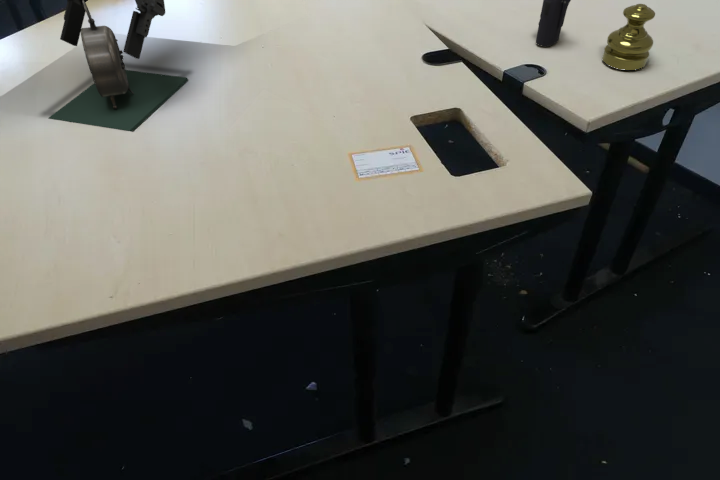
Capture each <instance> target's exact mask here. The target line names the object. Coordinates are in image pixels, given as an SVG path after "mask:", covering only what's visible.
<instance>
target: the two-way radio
mask: <svg viewBox="0 0 720 480" xmlns="http://www.w3.org/2000/svg"><path fill="white" fill-rule="evenodd" d="M571 1H572V0H543V1H542V6H541V12H540V16H539V22H538V26H537V33H536V39H535V44H536V43H537V44H539V45H542V46H541V47H543V46H546V47H551V46H553V45H556V43H558V42H559V39H560V36H561V35H560V34H561V31H562V27H564V23H565V18H566V15H567V11H568V7H569V4H570V2H571ZM557 41H558V42H557ZM537 44H536V45H537ZM539 45H538V46H539ZM550 45H551V46H550Z"/></svg>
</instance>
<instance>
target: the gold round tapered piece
mask: <svg viewBox="0 0 720 480" xmlns="http://www.w3.org/2000/svg"><path fill="white" fill-rule="evenodd" d="M622 15H623V17H625V19H626V24H625V25H622V27H619V28H618V29H616V30H614V31H612V32H610V33H609V34H608V36H607V38H606V45H605V47H604V49H603V50H604V51H603V54H602V57H601V60H602V59H603V60H602V62H603V61H604V62H605V63H606V64H608V65H610V66H612V67H615V68H618V69H625V70H635V69H639V68H641V69H643V68H644V67H646V64H647V62H648V60H649V59H648V58H649V56H650V52H649V51H651V49H652V48H653V45H654V39H653V37H652V35H650V34H649V32H648V31H647V30H646V28H645V24H646V23H648V22H649V21H652V20H653V19H654V18H655V17H656V12H655V10H654V9H652V8H651V7H650V6H648V5H647V4H645V3H636V4H634V5H633V4H632V5H630V6H627V7H625V8H623V12H622ZM604 62H603V63H604ZM605 63H604V64H605ZM606 64H605V65H606ZM642 67H643V68H642ZM639 70H640V69H639ZM635 71H636V70H635Z"/></svg>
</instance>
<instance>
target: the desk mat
mask: <svg viewBox="0 0 720 480" xmlns="http://www.w3.org/2000/svg"><path fill="white" fill-rule="evenodd" d="M125 71H126V75H127V80H128V83H129V88H130V89H131V91H133V92H134V94H133V93H131V92H130V91H129V90H127V92H126V93H125V94H120V95H115V102H116V106H117V109H113V104H112V102H111V98H110V96H107V97H101V95H100V94H99V92H98V90H97V88H96V85H95V83H94V82H93V83H92V84H91V85H90V86H88V87H87V88H86V89H84V90H83V91H82V92H81V93H79V94H78V95H77V96H75V97H74V98H72V99H71V100H70V101H69V102H68V103H66V104H64V105H63V106H62V107H60V108H59V109H57V111H56V112H54V113H53V114H51V115H50V116H49V117H48V119H49V120H54V121H62V122H68V123H75V124H79V125H86V126H93V127H100V128H106V129H113V130H119V131H125V132H131V133H133V132H134V131H136V129H137V128H138V127H140V125H142V124H143V123H144V122H145V121H146V120H148V118H149V117H150V116H151V115H153V114H154V113H155V112H156V111H157V110H158V109H159V108H160V107H161V106H162V105H164V103H165V102H167V100H169V99H170V98H171V97H172V96H173V95H174V94H175V93H176V92H177V91H179V90H180V89H181V88H182V87H183V86H184V85H185V84H186V83H187V82H188V81H189V78H188V77H187V76H186V77H185V76H178V75H172V74H171V75H170V74H164V73H163V74H162V73H155V72H154V73H153V72H145V71H139V70H132V69H131V70H130V69H125Z"/></svg>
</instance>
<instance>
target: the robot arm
mask: <svg viewBox="0 0 720 480" xmlns="http://www.w3.org/2000/svg"><path fill="white" fill-rule="evenodd" d="M82 1H83V0H66V6H65V9H64V14H63V25H62V29H61V34H60V38H59V40H61V41H63V42H64V43H67V44H69V45H72V46H75V47H78V45H79V41H80V37H81V29H82V28H83V24H84V20H85V15H86V11H85V8H84V5H83V2H82ZM84 1H85V3H86V2H88V0H84ZM134 2H135V4H136V7H135V10H133V11H132V14H131V19H130V23H129V25H128V31H127V35H126V37H125V43H124V47H123V50H122V52H123V53H124V54H126V55H129V56H131V57H132V58H134V59H137V60H139V59H140V57H141V53H142V51H143V45H144V41H145V38H147V37H148V36H149V33H150V28H151V26H152V25H151V24H152V20H154V18H156V17H157V16H160V17H163V16H165V15H166V6H165V0H134ZM136 10H137V11H136Z"/></svg>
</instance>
